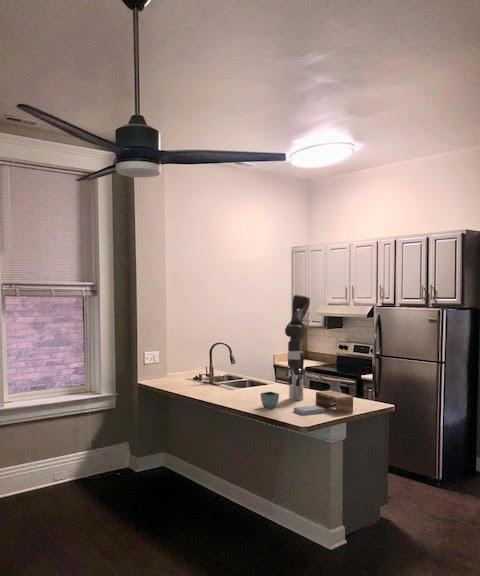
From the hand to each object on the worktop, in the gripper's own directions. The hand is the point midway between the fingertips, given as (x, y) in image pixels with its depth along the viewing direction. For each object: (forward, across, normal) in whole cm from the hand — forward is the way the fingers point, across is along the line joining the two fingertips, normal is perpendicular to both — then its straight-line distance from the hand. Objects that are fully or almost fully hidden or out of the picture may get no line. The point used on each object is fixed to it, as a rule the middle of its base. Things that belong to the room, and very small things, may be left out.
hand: (294, 385), depth 301 cm
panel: (+18, 0, +11) cm, 21 cm away
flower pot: (+17, -22, -5) cm, 28 cm away
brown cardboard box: (+17, -1, +30) cm, 34 cm away
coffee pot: (+16, -27, +45) cm, 55 cm away
